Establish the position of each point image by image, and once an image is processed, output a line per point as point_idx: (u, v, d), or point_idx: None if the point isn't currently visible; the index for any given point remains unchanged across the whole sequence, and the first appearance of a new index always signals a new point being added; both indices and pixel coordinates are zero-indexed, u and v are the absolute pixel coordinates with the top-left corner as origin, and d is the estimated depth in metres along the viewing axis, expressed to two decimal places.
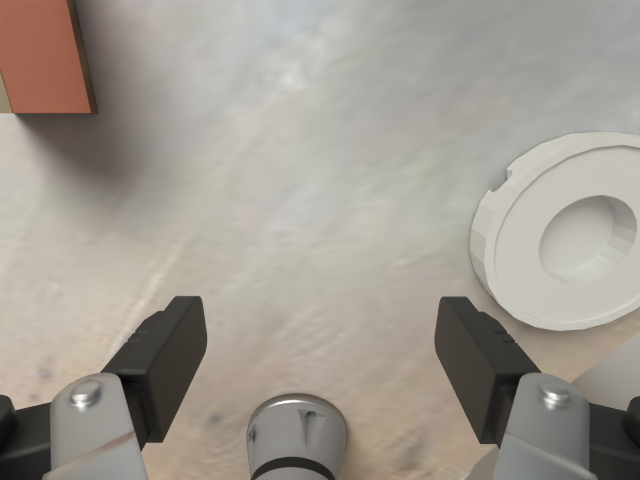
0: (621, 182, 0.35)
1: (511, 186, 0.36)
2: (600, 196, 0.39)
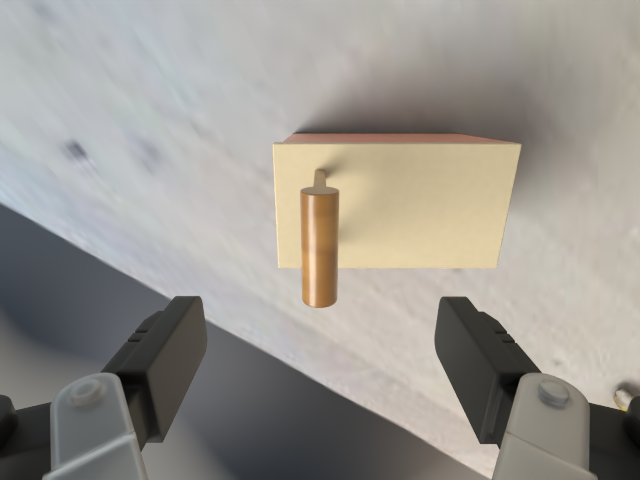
0: None
1: None
2: None
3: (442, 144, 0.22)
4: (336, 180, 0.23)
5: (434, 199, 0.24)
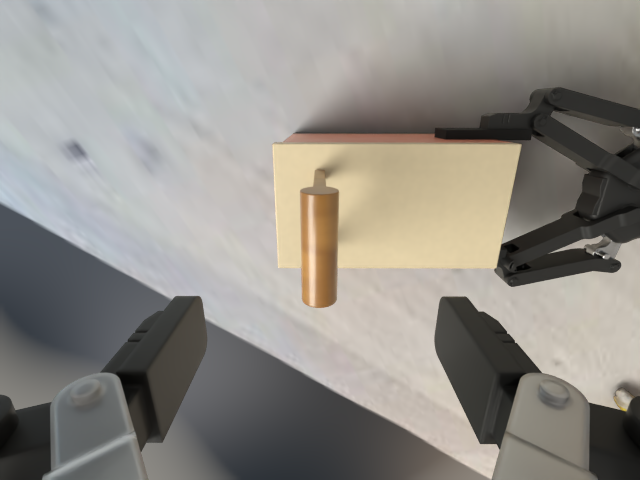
0: None
1: None
2: None
3: (442, 144, 0.22)
4: (336, 180, 0.23)
5: (434, 199, 0.24)
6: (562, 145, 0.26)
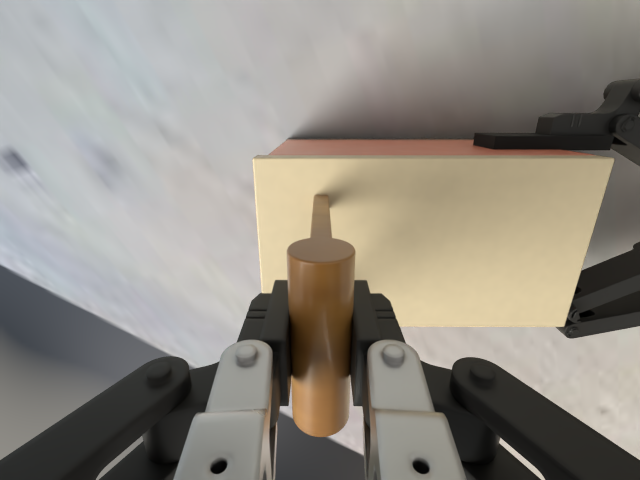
0: None
1: None
2: None
3: (499, 159, 0.15)
4: (345, 209, 0.16)
5: (483, 236, 0.17)
6: None
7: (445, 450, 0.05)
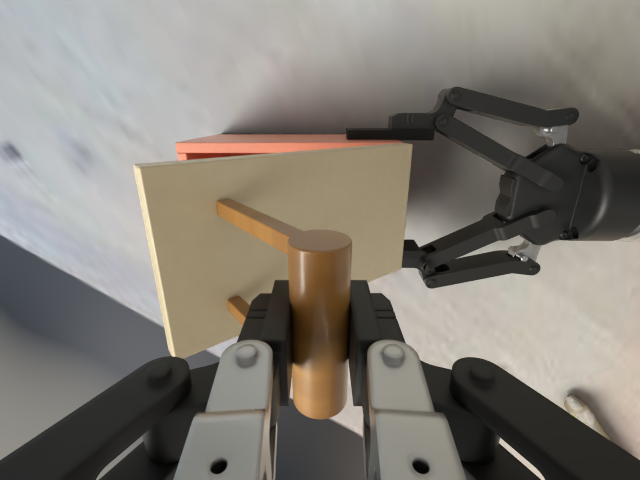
0: None
1: None
2: None
3: (354, 149, 0.19)
4: None
5: (352, 212, 0.21)
6: (467, 145, 0.26)
7: (445, 450, 0.05)
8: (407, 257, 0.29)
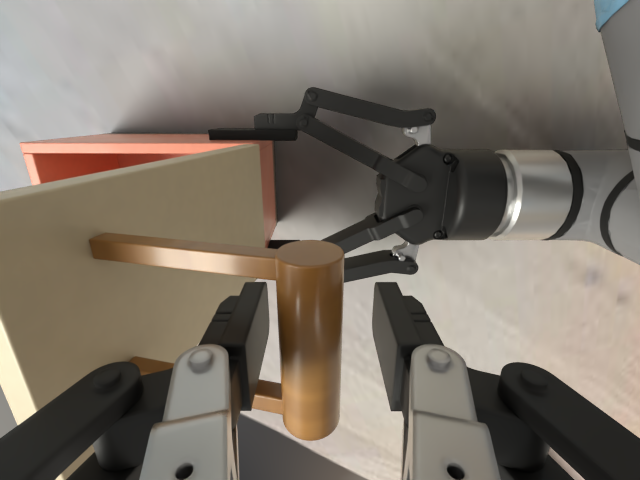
0: None
1: None
2: None
3: (218, 153, 0.18)
4: None
5: (225, 222, 0.19)
6: None
7: (483, 460, 0.05)
8: None
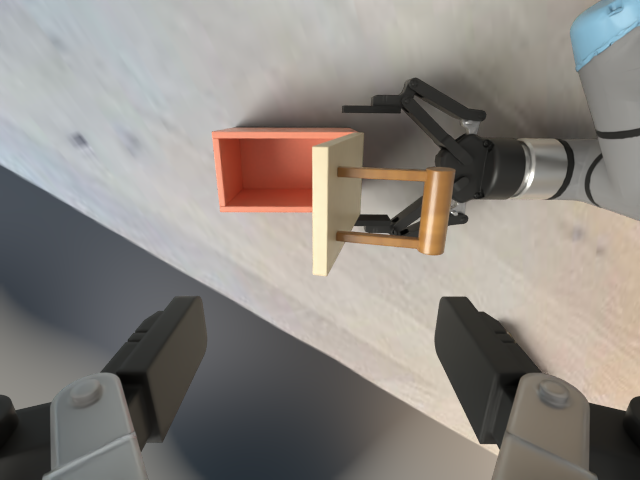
0: None
1: None
2: None
3: (355, 136, 0.31)
4: None
5: None
6: (419, 121, 0.39)
7: None
8: (382, 225, 0.43)
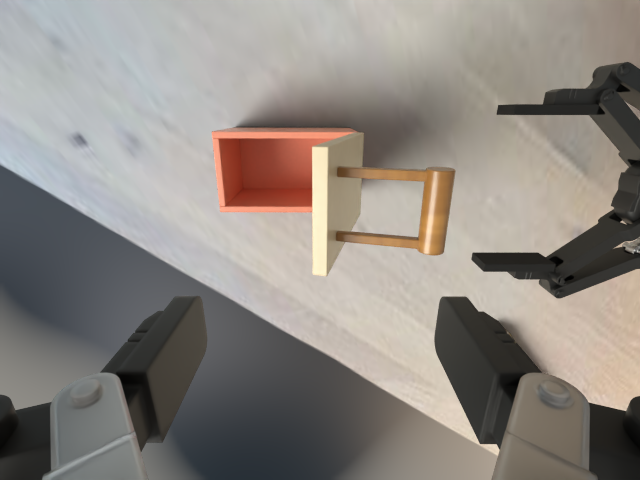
0: None
1: None
2: None
3: (355, 136, 0.31)
4: None
5: None
6: (619, 125, 0.27)
7: None
8: (542, 270, 0.31)
